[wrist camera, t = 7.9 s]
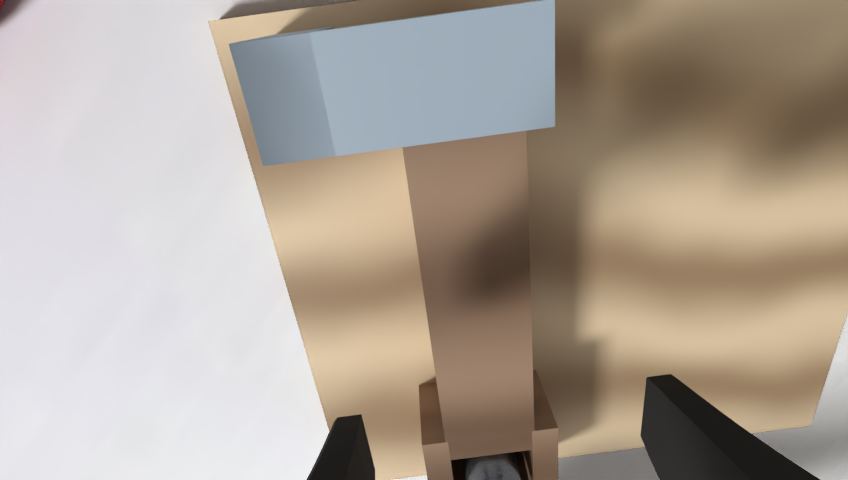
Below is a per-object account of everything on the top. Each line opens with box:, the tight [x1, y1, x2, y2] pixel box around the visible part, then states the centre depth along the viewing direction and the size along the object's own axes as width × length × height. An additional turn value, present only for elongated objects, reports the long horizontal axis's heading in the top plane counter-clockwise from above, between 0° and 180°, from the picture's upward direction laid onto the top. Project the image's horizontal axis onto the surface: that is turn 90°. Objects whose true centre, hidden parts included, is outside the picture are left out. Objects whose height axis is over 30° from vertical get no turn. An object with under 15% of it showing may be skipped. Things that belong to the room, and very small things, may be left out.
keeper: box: [229, 0, 555, 166], centre depth 13 cm, size 3×7×4 cm, turn 97°
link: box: [402, 131, 558, 480], centre depth 18 cm, size 19×5×3 cm, turn 7°
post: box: [463, 452, 521, 480], centre depth 20 cm, size 2×2×4 cm
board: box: [208, 0, 848, 480], centre depth 19 cm, size 21×23×1 cm
